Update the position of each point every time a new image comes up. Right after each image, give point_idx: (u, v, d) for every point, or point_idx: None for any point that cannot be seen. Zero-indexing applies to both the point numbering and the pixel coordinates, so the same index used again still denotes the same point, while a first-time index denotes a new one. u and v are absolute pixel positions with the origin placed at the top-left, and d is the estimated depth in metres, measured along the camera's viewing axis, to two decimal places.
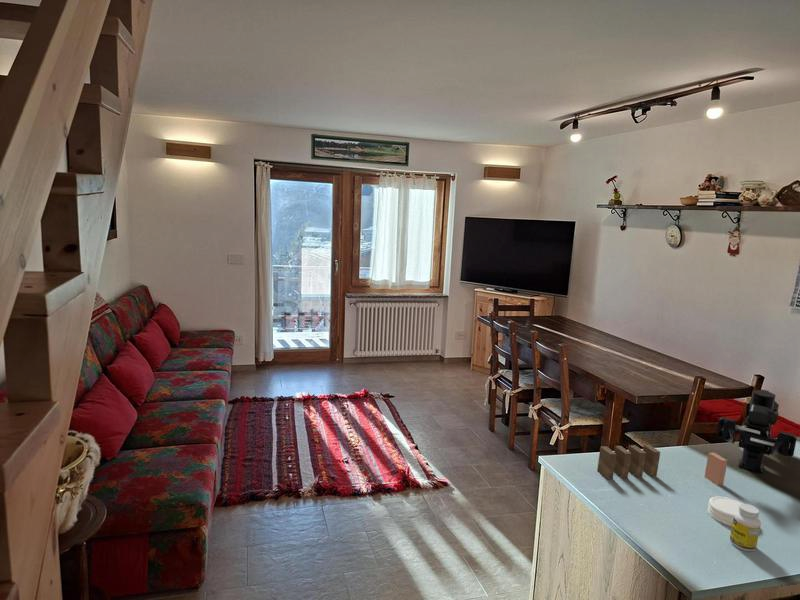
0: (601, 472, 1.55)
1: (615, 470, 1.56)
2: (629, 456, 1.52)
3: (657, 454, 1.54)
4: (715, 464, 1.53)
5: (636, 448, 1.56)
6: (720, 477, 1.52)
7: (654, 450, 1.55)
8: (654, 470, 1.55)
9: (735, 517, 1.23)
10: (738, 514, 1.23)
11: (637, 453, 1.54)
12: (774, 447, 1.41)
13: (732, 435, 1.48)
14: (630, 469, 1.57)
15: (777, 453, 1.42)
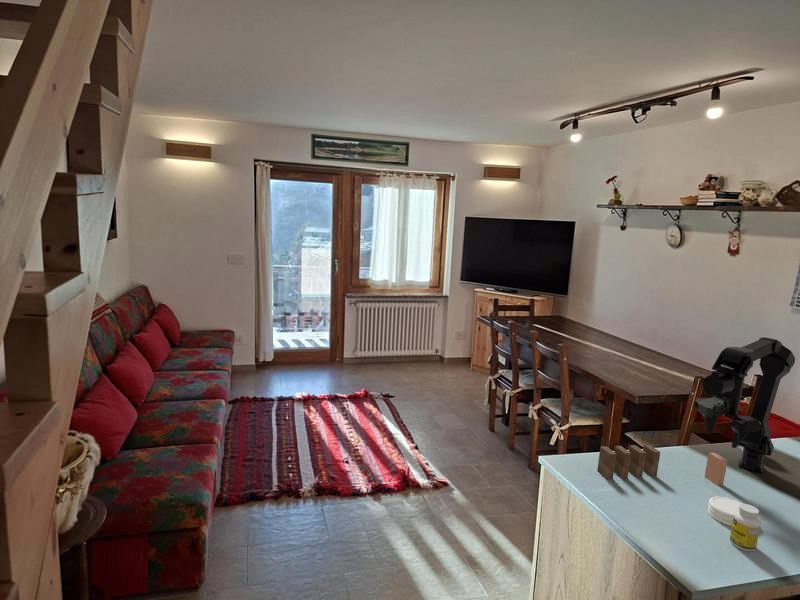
0: (601, 472, 1.55)
1: (615, 470, 1.56)
2: (629, 456, 1.52)
3: (657, 454, 1.54)
4: (715, 464, 1.53)
5: (636, 448, 1.56)
6: (720, 477, 1.52)
7: (654, 450, 1.55)
8: (654, 470, 1.55)
9: (735, 517, 1.23)
10: (738, 514, 1.23)
11: (637, 453, 1.54)
12: (733, 442, 1.47)
13: (706, 426, 1.57)
14: (630, 469, 1.57)
15: (742, 438, 1.47)
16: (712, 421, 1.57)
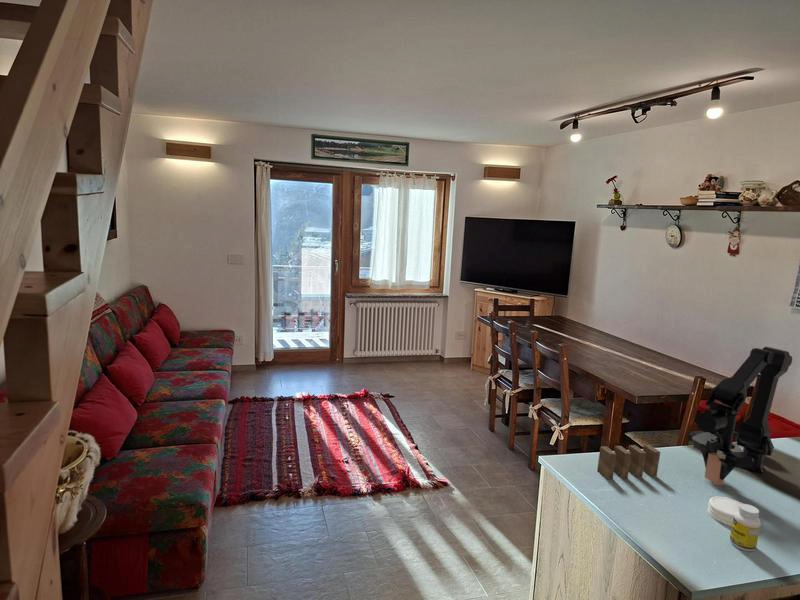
0: (601, 472, 1.55)
1: (615, 470, 1.56)
2: (629, 456, 1.52)
3: (657, 454, 1.54)
4: (715, 464, 1.53)
5: (636, 448, 1.56)
6: None
7: (654, 450, 1.55)
8: (654, 470, 1.55)
9: (735, 517, 1.23)
10: (738, 514, 1.23)
11: (637, 453, 1.54)
12: (721, 474, 1.51)
13: (705, 462, 1.57)
14: (630, 469, 1.57)
15: (730, 470, 1.51)
16: None
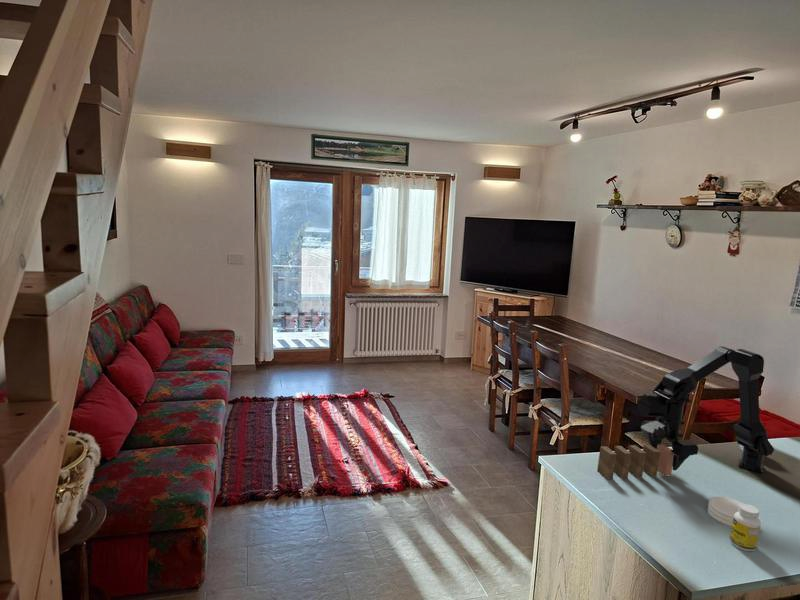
0: (601, 472, 1.55)
1: (615, 470, 1.56)
2: (629, 456, 1.52)
3: (657, 454, 1.54)
4: (663, 455, 1.57)
5: (636, 448, 1.56)
6: (667, 468, 1.56)
7: (654, 450, 1.55)
8: (654, 470, 1.55)
9: (735, 517, 1.23)
10: (738, 514, 1.23)
11: (637, 453, 1.54)
12: (673, 465, 1.53)
13: None
14: (630, 469, 1.57)
15: (682, 461, 1.52)
16: (657, 443, 1.62)
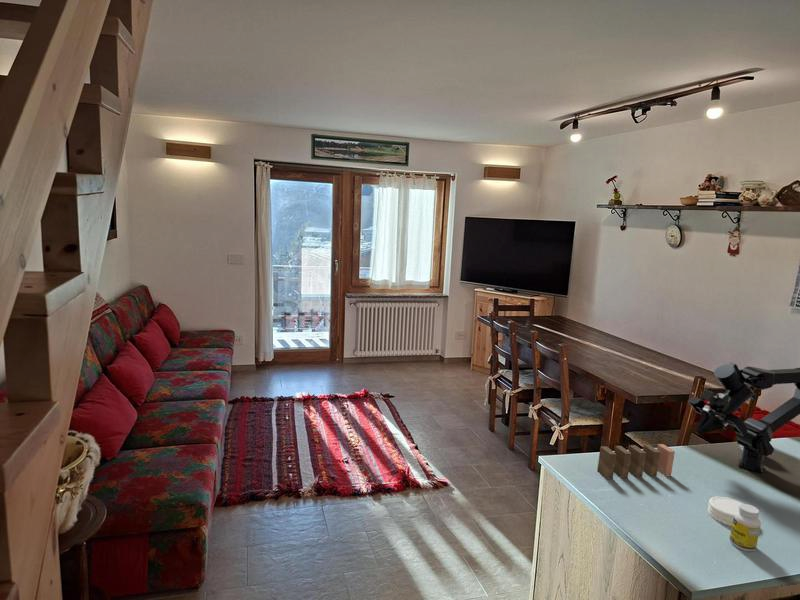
0: (601, 472, 1.55)
1: (615, 470, 1.56)
2: (629, 456, 1.52)
3: (657, 454, 1.54)
4: (663, 455, 1.57)
5: (636, 448, 1.56)
6: (667, 468, 1.56)
7: (654, 450, 1.55)
8: (654, 470, 1.55)
9: (735, 517, 1.23)
10: (738, 514, 1.23)
11: (637, 453, 1.54)
12: (700, 428, 1.58)
13: (699, 425, 1.59)
14: (630, 469, 1.57)
15: (710, 430, 1.58)
16: None
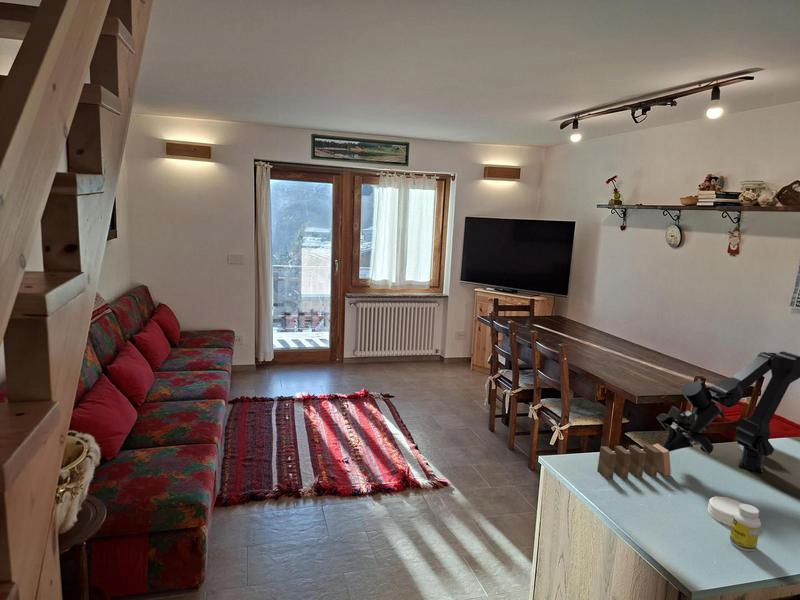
0: (601, 472, 1.55)
1: (615, 470, 1.56)
2: (629, 456, 1.52)
3: (657, 454, 1.54)
4: None
5: (636, 448, 1.56)
6: (666, 468, 1.56)
7: (654, 450, 1.55)
8: (654, 470, 1.55)
9: (735, 517, 1.23)
10: (738, 514, 1.23)
11: (637, 454, 1.54)
12: (667, 446, 1.57)
13: (666, 443, 1.58)
14: (630, 469, 1.57)
15: (677, 448, 1.57)
16: None
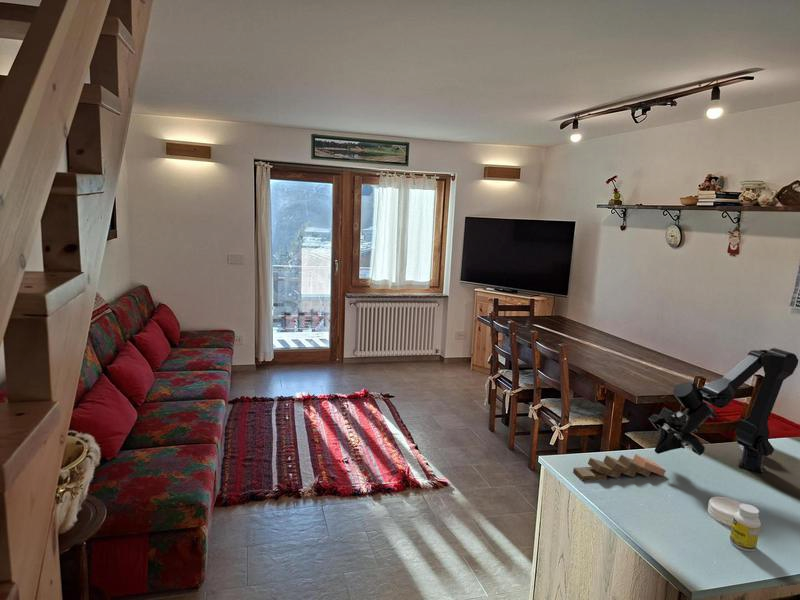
0: None
1: None
2: (602, 468, 1.51)
3: (632, 465, 1.53)
4: None
5: (608, 461, 1.55)
6: (657, 472, 1.55)
7: (627, 464, 1.54)
8: (644, 472, 1.54)
9: (735, 517, 1.23)
10: (738, 514, 1.23)
11: None
12: (659, 447, 1.56)
13: (658, 444, 1.57)
14: None
15: (668, 449, 1.56)
16: None
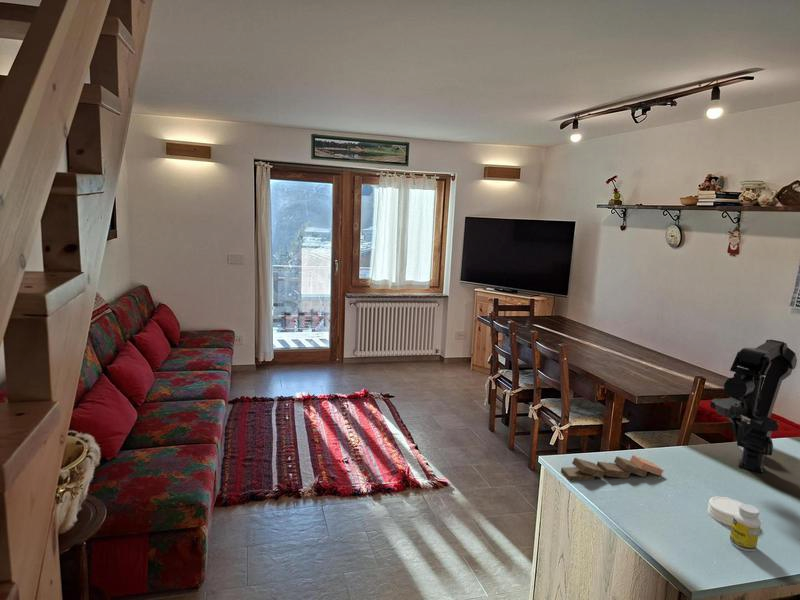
0: None
1: None
2: (587, 468, 1.49)
3: (627, 466, 1.53)
4: None
5: None
6: (655, 472, 1.55)
7: (622, 465, 1.54)
8: (640, 472, 1.54)
9: (735, 517, 1.23)
10: (738, 514, 1.23)
11: None
12: (737, 436, 1.52)
13: (734, 432, 1.53)
14: None
15: (747, 432, 1.52)
16: None
